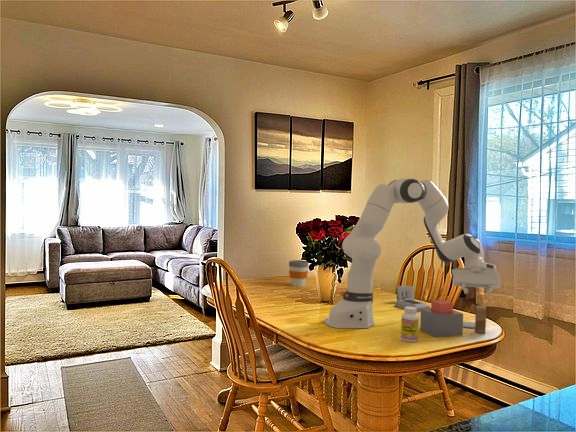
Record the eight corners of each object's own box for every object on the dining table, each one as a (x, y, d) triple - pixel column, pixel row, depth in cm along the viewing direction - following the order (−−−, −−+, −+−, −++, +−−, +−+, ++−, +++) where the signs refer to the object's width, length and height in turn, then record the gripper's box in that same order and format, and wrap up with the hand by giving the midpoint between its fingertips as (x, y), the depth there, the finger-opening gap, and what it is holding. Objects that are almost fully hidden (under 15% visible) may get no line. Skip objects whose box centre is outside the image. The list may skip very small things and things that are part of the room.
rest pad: (477, 328, 204) (477, 327, 204) (455, 327, 207) (455, 325, 207) (474, 323, 213) (474, 322, 213) (453, 322, 215) (453, 320, 215)
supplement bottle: (399, 341, 183) (400, 308, 183) (401, 336, 189) (402, 305, 189) (417, 343, 181) (418, 310, 180) (418, 338, 187) (420, 306, 187)
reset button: (439, 315, 193) (439, 303, 193) (430, 312, 199) (431, 300, 199) (452, 315, 195) (453, 303, 195) (443, 311, 201) (444, 299, 201)
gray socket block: (434, 337, 190) (435, 315, 190) (420, 329, 201) (420, 308, 200) (462, 335, 194) (463, 313, 193) (446, 328, 204) (447, 307, 204)
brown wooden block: (485, 333, 197) (486, 307, 196) (476, 333, 198) (477, 307, 197) (483, 331, 200) (484, 306, 200) (474, 330, 201) (475, 305, 201)
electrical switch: (399, 304, 251) (398, 286, 252) (394, 302, 256) (394, 285, 257) (414, 303, 254) (414, 286, 254) (410, 302, 259) (410, 285, 259)
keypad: (416, 305, 233) (395, 299, 246) (416, 313, 233) (394, 306, 246) (430, 303, 238) (408, 298, 251) (429, 311, 238) (407, 305, 251)
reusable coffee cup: (287, 283, 306) (287, 260, 305) (306, 283, 307) (306, 260, 307) (289, 286, 293) (290, 262, 293) (309, 286, 295) (309, 263, 294)
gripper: (452, 263, 218) (453, 288, 209) (499, 266, 213) (503, 291, 204) (450, 271, 223) (452, 296, 213) (497, 274, 218) (500, 299, 209)
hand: (477, 293), depth 209 cm, fingers open, 8 cm apart
